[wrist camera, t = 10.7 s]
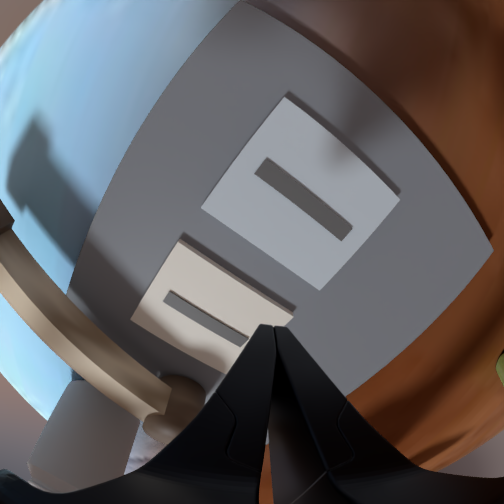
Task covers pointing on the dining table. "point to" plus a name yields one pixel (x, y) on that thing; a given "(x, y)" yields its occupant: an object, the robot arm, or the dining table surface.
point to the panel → (273, 216)
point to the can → (82, 441)
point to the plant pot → (500, 368)
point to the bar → (92, 345)
